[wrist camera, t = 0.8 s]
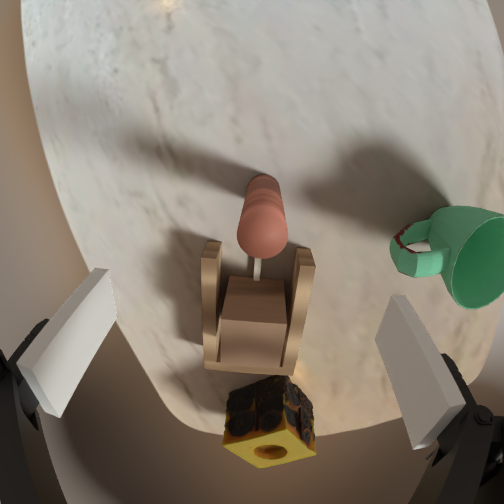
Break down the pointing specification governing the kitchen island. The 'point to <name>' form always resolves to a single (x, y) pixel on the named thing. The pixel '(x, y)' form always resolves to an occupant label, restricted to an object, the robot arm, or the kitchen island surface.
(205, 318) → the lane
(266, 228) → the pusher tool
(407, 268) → the mug
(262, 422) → the toy block
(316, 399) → the kitchen island surface
